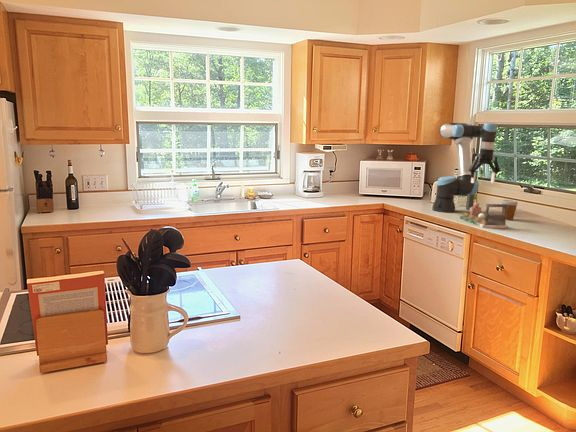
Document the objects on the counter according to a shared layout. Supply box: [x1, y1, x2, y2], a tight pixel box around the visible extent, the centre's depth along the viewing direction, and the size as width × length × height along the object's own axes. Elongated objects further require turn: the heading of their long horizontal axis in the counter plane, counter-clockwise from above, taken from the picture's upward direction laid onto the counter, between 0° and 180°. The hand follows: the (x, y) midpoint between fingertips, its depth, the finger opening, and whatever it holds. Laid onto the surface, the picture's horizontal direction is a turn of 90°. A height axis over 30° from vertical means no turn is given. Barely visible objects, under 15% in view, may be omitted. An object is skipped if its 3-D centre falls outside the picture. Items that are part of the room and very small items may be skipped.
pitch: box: [459, 203, 508, 229], centre depth 291 cm, size 26×16×14 cm, turn 9°
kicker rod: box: [465, 194, 482, 217], centre depth 303 cm, size 11×6×13 cm, turn 9°
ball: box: [478, 212, 485, 219], centre depth 294 cm, size 4×4×4 cm
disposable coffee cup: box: [501, 199, 519, 221], centre depth 306 cm, size 10×10×12 cm
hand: (482, 183), depth 297 cm, fingers open, 13 cm apart
